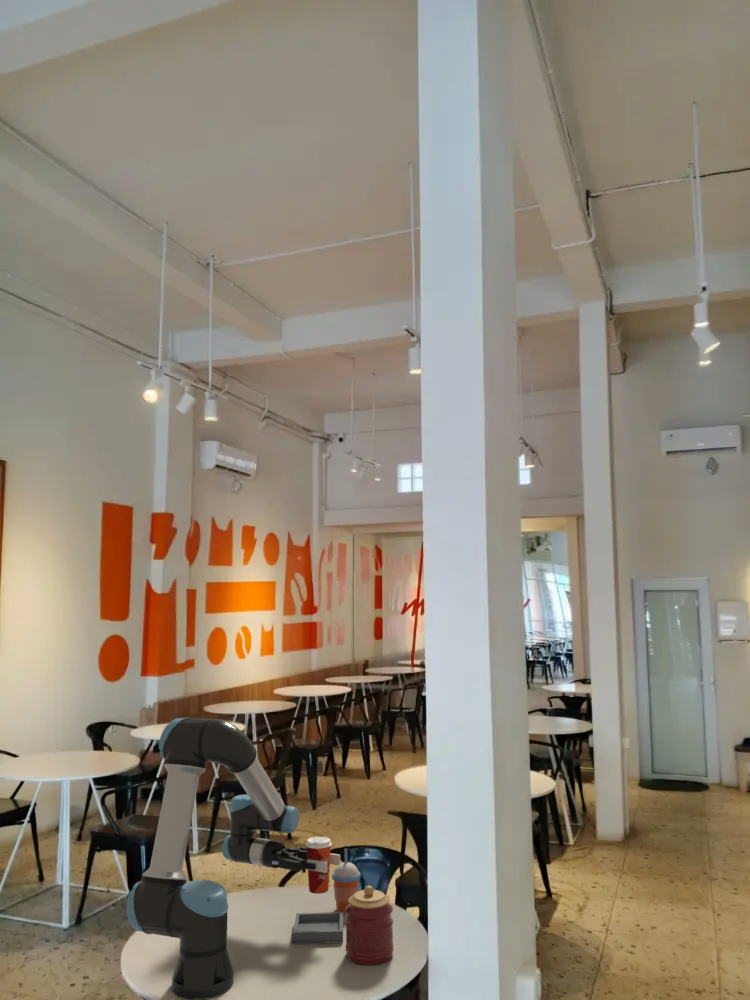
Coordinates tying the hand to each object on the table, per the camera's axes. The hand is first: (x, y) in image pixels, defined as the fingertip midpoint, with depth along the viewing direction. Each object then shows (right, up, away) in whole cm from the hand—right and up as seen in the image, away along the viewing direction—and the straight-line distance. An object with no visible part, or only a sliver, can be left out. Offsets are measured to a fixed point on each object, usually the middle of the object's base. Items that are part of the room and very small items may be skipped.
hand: (333, 863), depth 223 cm
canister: (+11, -18, -15) cm, 26 cm away
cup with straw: (+3, -22, +17) cm, 28 cm away
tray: (-4, -20, 0) cm, 20 cm away
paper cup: (-4, -8, +1) cm, 10 cm away
